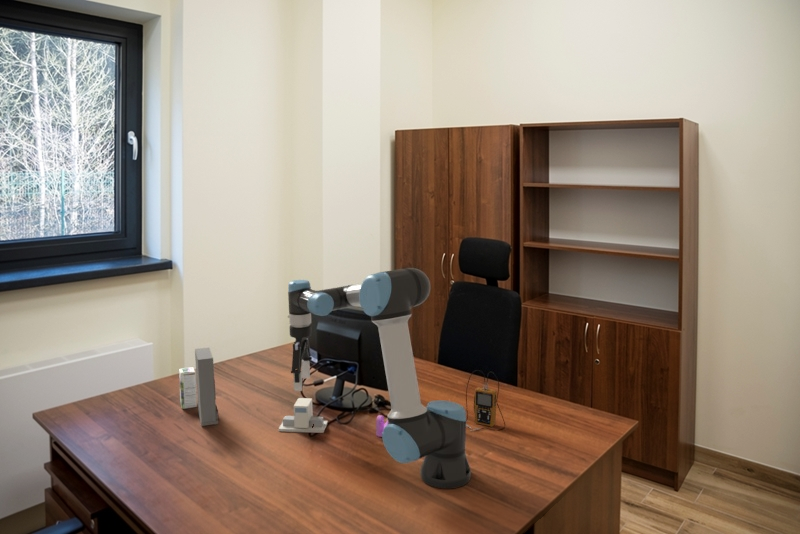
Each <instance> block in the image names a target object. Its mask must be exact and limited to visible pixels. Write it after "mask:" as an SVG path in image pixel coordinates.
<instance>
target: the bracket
mask: <svg viewBox="0 0 800 534" xmlns="http://www.w3.org/2000/svg"><path fill="white" fill-rule="evenodd" d="M375 424H376V425H375V427H376V429H375V431H376V433H375V436H376V437H379V438H382V432H383V429H384V428H385V427H386V426H387V425H388V424H389V422H388V420H386V421H385V417H384V415H380V414H378V415H377V417H376V422H375Z"/></svg>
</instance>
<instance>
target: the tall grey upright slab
mask: <svg viewBox="0 0 800 534" xmlns="http://www.w3.org/2000/svg"><path fill="white" fill-rule="evenodd" d="M194 359H195V373H196V393H197V407H198V408H197V412H198V416H199V417H198V418H199V423H200V426H201V427H205V426H213V425H218V424H219V409H218V407H217V404H216V403H217V402H216V400H217V398H216V383H215V382H216V380H215V369H214V357H213V354H212V351H211V349H210V347H203V348H201V347H200V348H194Z"/></svg>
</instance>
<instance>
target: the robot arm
mask: <svg viewBox="0 0 800 534" xmlns="http://www.w3.org/2000/svg"><path fill="white" fill-rule="evenodd" d="M431 287H432V286H431V281H430V279H429V277H428V276H427V274H426V273H425V272H424V271H422V270H420V269H418V268H415V267H406V268H400V269H394V270H386V271H379V272H376V273H373V274H369V275H367V276H366V277H365V278H364V280H363V281H362V282H360V283H357V284H356V283H355V284H349V285H344V286H343V285H342V286H339V287H338V286H337V287H332V288H326V289H321V290H319V289H318V290H315V289H311V288H312V287H311V282H310V281H309V280H307V279H296V280H295V279H294V280H291V281H290V282H288V291H287V296H288V298H287V299H288V311H289V312H288V313H289V314H288V315H287V318H288V319H289V323H288V324H289V336H290V337H291V338H294V339H295V341H294V342H293V344H292V362H291V370H290V374H293V391H295V392H302V391H303V379H309V380H310V379H311V371H310V367H311V366H310V365H311V364H310V361H312V359H313V358H312V354H311V347H310V340H309V337H311V336H312V333H313V332H312V325H311V324H312V314H313V315H316V316H321V317H324V316H325V317H326V316H327V315H329V314H330V313H332V311H337V310H343V309H348V308H355V307H361V309H362V310H363V313H365V314H366V315H367V316H369V317H370V319H371V323H373V324H374V325H376V326H377V328H378V334H379V342H380V345H381V352H382V359H383V365H384V371H385V376H386V383H387V389H388V395H389V401H390V407H391V410H389V413H387V421H388V422H389V424H388V425H387V426H386V427H385V428H384V429H383V432H382V437H381V438H382V443H383V446H384V448H385V450H386V451H387V453H388V454H389V456H390V457H391V458H392V459H393V460H395V461H396V462H397V463H400V464H408V463H411V462H412V463H413V462H416V461H418V460H419V459H422V458H423V461H422V463H421V467H420V479H421V480H422V481H423V482H424V483H425V484H426V485H429V486H431V487H433V488H436V489H437V488H438V489H444V490H445V489H446V490H447V489H456V488H460V487H463V486H465V485H467V484H468V483H469V482H470V480H471V467H470V464H469V461H468V460H469V459H468V457H467V454H466V439H467V438H466V435H467V434H466V433H467V426H466V424H467V421H466V420H467V411H466V409H465V407H464V406H463V405H461V404H459V403H457V402H453V401H450V400H444V399H443V400H442V399H437V400H431V401H429V402H428V403H427V404H426V406H424V405H423V403H422V401H421V395H420V390H419V382H418V377H417V371H416V366H415V357H414V354H413V353H414V352H413V347H412V343H411V342H412V341H411V335H410V330H409V320H410V318H411V317H412V315H413V313H412V310H411V309H412V308H415V307H417V306H420V305H421V304H423V303H424V302H426V300H427V299H428V298H429V296H430V293H431V289H432V288H431Z"/></svg>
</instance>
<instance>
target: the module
mask: <svg viewBox="0 0 800 534" xmlns="http://www.w3.org/2000/svg"><path fill="white" fill-rule="evenodd" d="M313 414H314V413H313V398H306V397H298V398H297V400H296V401H295V403H294V404H293V416H294V427H295V428H309V420H310V418H311V417H314V415H313Z"/></svg>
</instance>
